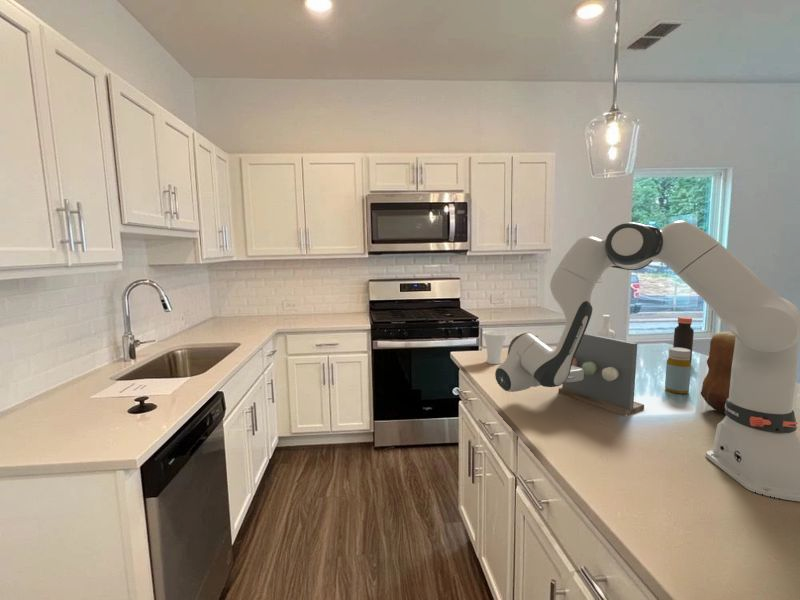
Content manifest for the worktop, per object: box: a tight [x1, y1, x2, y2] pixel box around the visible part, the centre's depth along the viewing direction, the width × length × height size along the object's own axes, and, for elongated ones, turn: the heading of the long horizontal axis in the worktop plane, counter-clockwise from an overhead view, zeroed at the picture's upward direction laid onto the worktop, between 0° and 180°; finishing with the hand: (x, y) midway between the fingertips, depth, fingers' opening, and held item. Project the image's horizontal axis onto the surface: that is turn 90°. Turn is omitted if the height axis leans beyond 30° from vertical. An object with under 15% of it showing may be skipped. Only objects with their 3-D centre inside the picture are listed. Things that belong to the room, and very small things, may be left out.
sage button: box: [582, 361, 598, 375], centre depth 131 cm, size 2×4×4 cm, turn 30°
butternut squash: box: [700, 331, 736, 414], centre depth 122 cm, size 14×13×25 cm
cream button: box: [602, 367, 619, 381], centre depth 125 cm, size 2×4×4 cm, turn 30°
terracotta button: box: [572, 357, 578, 367], centre depth 137 cm, size 2×4×4 cm, turn 30°
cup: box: [482, 329, 508, 365], centre depth 181 cm, size 10×10×14 cm
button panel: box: [558, 332, 645, 417], centre depth 134 cm, size 10×24×22 cm, turn 30°
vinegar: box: [672, 316, 695, 363], centre depth 175 cm, size 7×7×20 cm
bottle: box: [664, 346, 692, 395], centre depth 142 cm, size 7×7×15 cm
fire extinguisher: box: [596, 314, 617, 339], centre depth 154 cm, size 7×12×25 cm, turn 157°
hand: (567, 364), depth 136 cm, fingers closed
